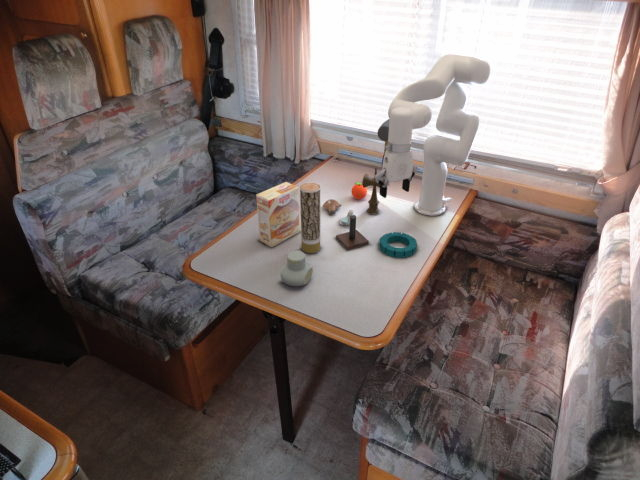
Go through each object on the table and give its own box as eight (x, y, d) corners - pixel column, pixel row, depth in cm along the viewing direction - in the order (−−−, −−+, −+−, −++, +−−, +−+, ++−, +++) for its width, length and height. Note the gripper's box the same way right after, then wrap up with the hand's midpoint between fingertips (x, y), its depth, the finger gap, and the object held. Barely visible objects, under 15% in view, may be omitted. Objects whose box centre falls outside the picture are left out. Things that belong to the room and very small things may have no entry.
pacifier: (335, 224, 177) (348, 228, 174) (335, 210, 174) (349, 214, 171) (345, 217, 182) (358, 221, 179) (345, 203, 179) (358, 207, 176)
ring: (402, 234, 170) (403, 229, 169) (423, 252, 160) (424, 246, 159) (372, 243, 166) (373, 237, 164) (392, 261, 156) (393, 255, 154)
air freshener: (292, 268, 152) (291, 244, 147) (315, 274, 149) (314, 249, 144) (278, 286, 144) (276, 261, 138) (301, 293, 141) (300, 267, 136)
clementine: (347, 195, 199) (347, 181, 195) (361, 192, 201) (361, 178, 197) (355, 203, 193) (356, 188, 189) (369, 200, 195) (370, 185, 191)
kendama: (382, 217, 182) (386, 172, 171) (359, 213, 185) (362, 168, 174) (386, 210, 187) (389, 166, 176) (364, 207, 190) (366, 163, 179)
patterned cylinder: (306, 256, 158) (305, 192, 145) (298, 246, 164) (296, 184, 150) (323, 251, 161) (323, 188, 148) (315, 242, 166) (314, 181, 153)
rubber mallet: (388, 191, 203) (393, 126, 187) (372, 188, 205) (376, 124, 189) (395, 180, 212) (401, 118, 196) (380, 177, 215) (385, 116, 199)
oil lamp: (317, 213, 187) (333, 219, 183) (316, 205, 184) (332, 211, 180) (330, 202, 192) (345, 208, 188) (329, 195, 190) (345, 200, 186)
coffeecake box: (271, 247, 163) (268, 200, 152) (259, 240, 167) (254, 194, 157) (300, 232, 172) (299, 186, 162) (287, 225, 176) (285, 180, 166)
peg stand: (356, 233, 172) (357, 209, 166) (368, 244, 165) (370, 219, 159) (335, 238, 168) (336, 214, 163) (347, 250, 162) (348, 225, 156)
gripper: (384, 154, 140) (380, 203, 150) (426, 145, 148) (420, 192, 157) (370, 147, 146) (367, 194, 155) (412, 138, 153) (407, 184, 162)
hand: (394, 193), depth 156 cm, fingers open, 9 cm apart
